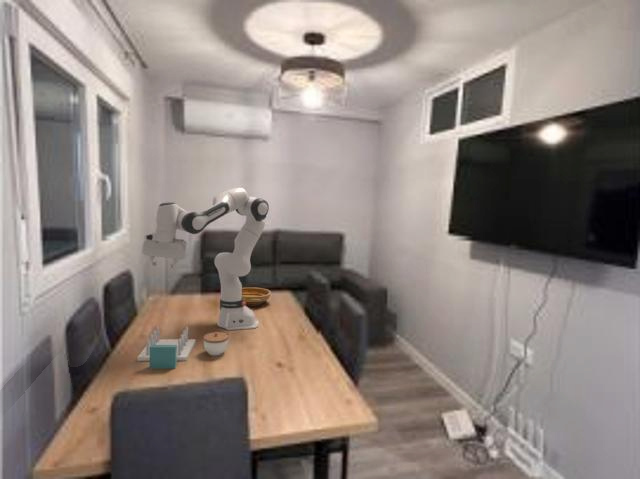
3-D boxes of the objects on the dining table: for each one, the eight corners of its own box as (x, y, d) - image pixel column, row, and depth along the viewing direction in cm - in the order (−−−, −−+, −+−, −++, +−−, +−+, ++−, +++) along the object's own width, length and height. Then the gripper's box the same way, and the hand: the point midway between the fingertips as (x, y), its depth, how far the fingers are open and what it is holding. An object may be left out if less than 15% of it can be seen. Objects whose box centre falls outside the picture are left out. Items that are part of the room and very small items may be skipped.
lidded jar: (205, 359, 167) (206, 338, 166) (201, 349, 176) (201, 330, 175) (230, 355, 172) (231, 335, 171) (224, 346, 181) (225, 327, 180)
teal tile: (176, 365, 159) (176, 344, 158) (175, 368, 157) (175, 347, 156) (151, 365, 158) (151, 344, 157) (149, 368, 156) (149, 347, 155)
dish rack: (195, 342, 184) (195, 325, 183) (186, 360, 165) (186, 341, 164) (151, 342, 181) (151, 324, 180) (137, 360, 162) (137, 341, 161)
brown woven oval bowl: (231, 298, 263) (231, 286, 262) (266, 297, 270) (267, 285, 269) (235, 311, 235) (235, 298, 234) (274, 309, 242) (274, 297, 241)
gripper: (189, 239, 180) (187, 268, 181) (149, 234, 183) (147, 263, 184) (183, 240, 174) (180, 270, 175) (141, 235, 176) (139, 265, 178)
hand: (163, 266), depth 179 cm, fingers open, 8 cm apart
